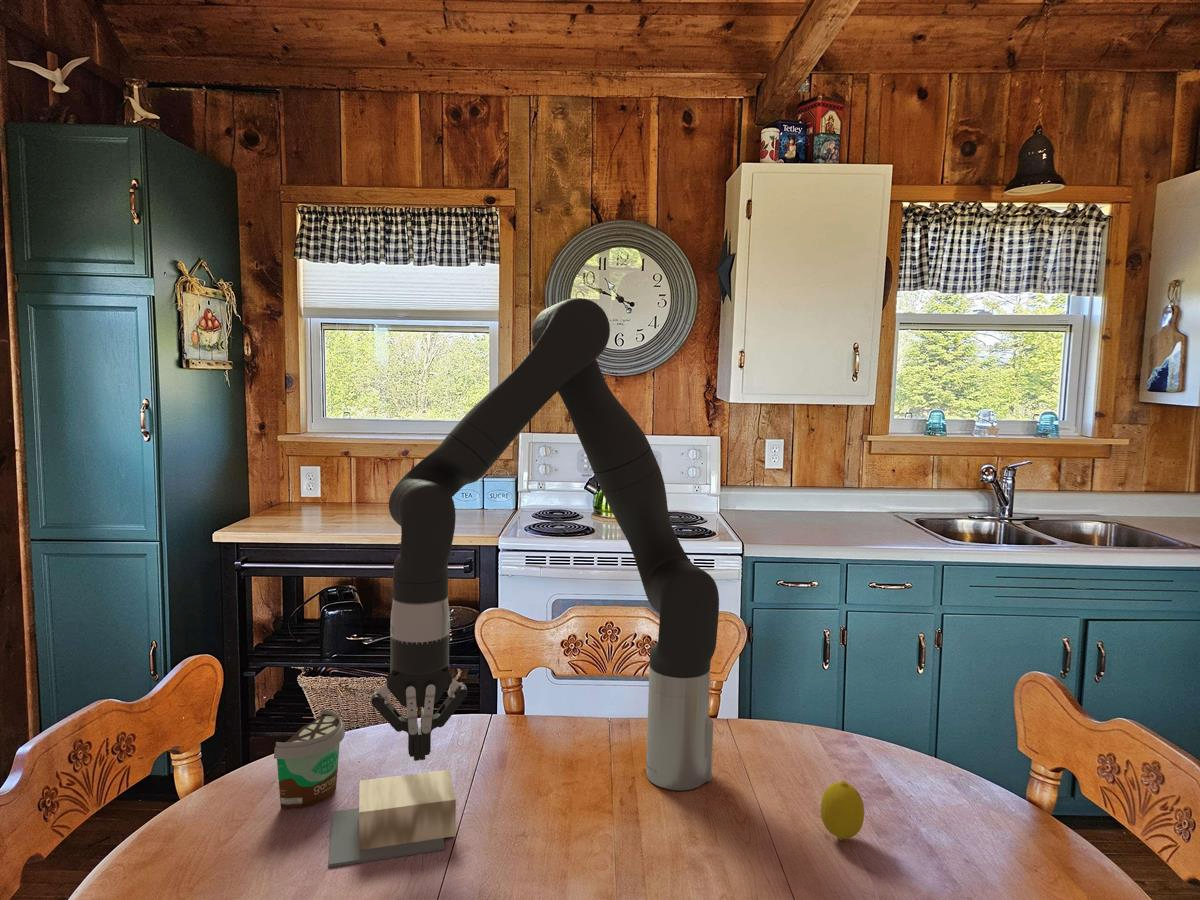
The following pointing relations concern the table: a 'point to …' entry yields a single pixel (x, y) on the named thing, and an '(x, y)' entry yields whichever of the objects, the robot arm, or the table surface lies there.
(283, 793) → the food container
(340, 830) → the mat
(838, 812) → the lemon
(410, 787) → the ash block
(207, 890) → the table surface
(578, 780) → the table surface
